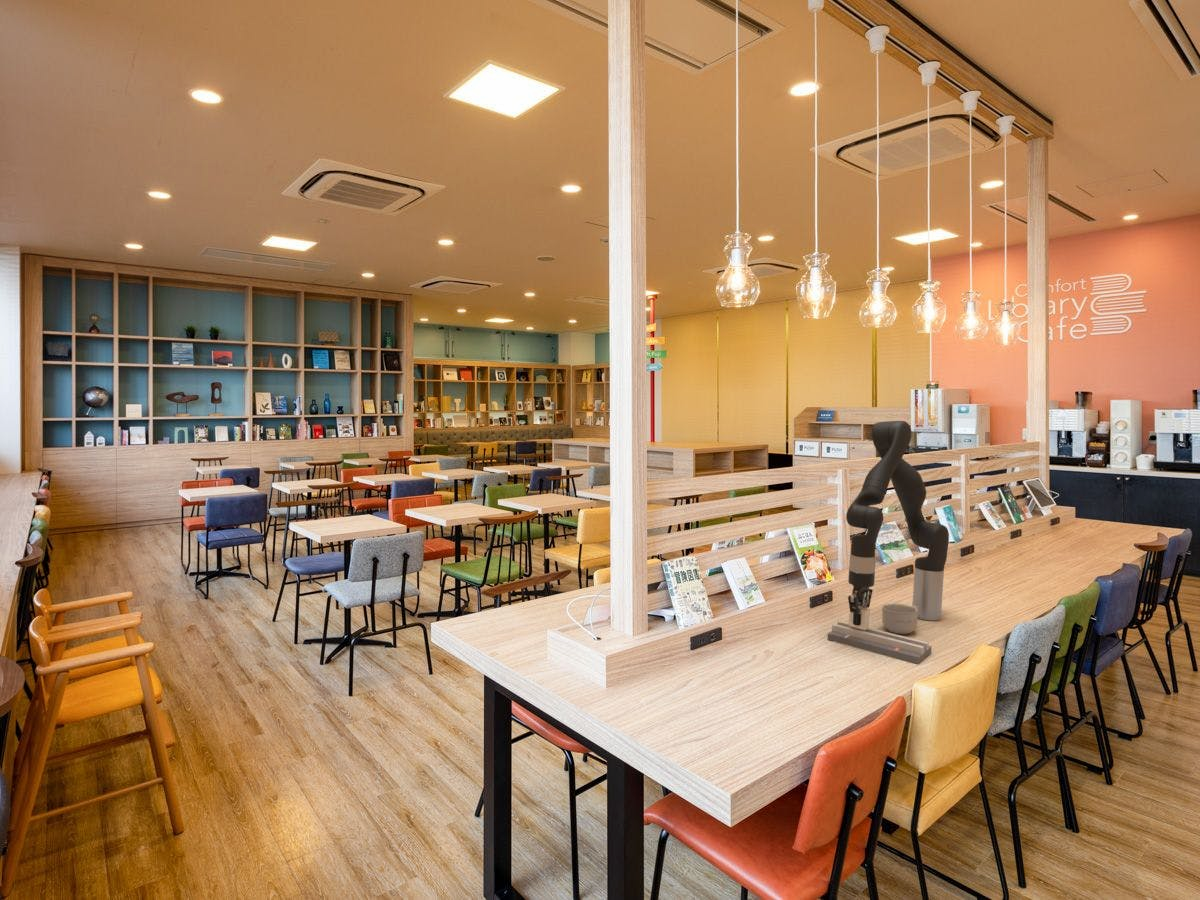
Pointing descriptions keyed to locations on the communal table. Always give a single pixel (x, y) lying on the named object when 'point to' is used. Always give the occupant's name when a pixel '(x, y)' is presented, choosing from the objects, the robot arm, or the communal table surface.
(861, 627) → the fader
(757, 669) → the communal table surface
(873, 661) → the communal table surface
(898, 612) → the teacup
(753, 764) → the communal table surface
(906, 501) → the robot arm
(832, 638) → the track
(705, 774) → the communal table surface
